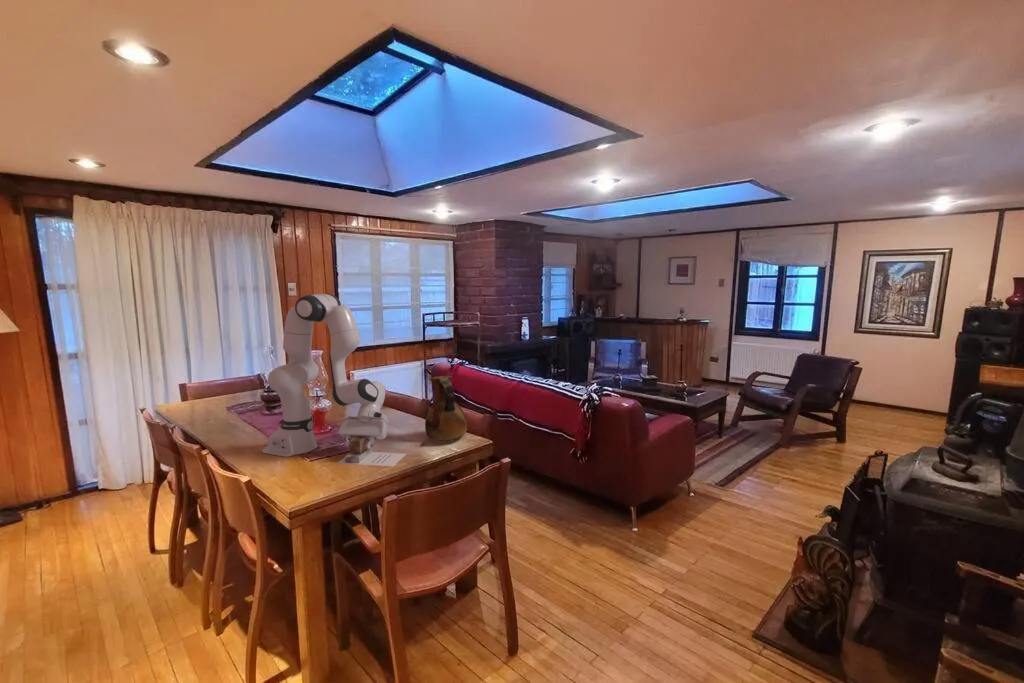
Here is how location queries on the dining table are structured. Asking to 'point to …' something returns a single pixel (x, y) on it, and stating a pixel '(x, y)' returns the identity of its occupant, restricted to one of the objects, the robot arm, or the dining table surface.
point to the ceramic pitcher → (445, 413)
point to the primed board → (379, 459)
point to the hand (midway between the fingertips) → (357, 447)
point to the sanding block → (358, 450)
